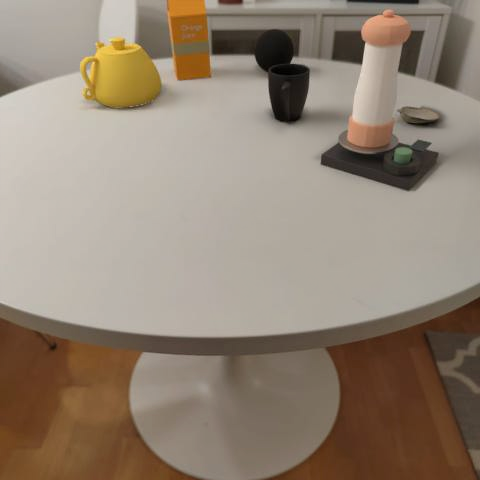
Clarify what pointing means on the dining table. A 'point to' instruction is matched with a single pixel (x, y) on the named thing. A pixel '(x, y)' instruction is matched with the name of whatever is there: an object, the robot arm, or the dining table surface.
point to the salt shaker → (378, 80)
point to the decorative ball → (273, 49)
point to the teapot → (120, 75)
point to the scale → (381, 165)
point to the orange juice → (189, 38)
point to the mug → (288, 90)
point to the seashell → (417, 115)
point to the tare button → (403, 155)
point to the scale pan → (393, 143)
